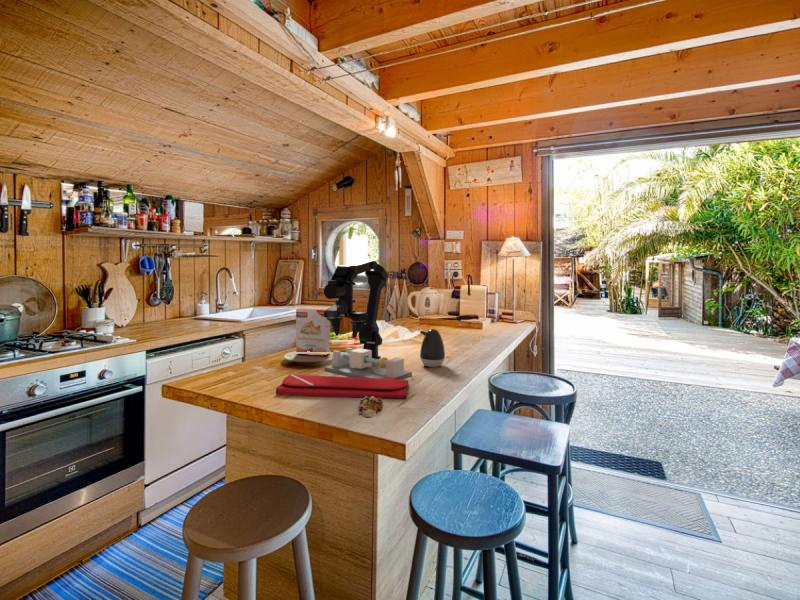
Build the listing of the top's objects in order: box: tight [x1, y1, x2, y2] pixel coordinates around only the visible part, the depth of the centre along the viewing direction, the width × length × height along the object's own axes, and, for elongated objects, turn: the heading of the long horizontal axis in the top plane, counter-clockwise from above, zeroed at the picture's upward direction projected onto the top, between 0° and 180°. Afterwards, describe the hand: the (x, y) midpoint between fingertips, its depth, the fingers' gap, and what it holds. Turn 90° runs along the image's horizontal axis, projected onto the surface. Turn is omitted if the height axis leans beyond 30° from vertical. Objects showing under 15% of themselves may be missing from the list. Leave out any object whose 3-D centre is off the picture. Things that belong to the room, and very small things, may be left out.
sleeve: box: [350, 348, 373, 369], centre depth 160 cm, size 6×6×6 cm
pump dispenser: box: [419, 328, 446, 368], centre depth 169 cm, size 10×10×15 cm
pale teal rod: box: [340, 351, 389, 369], centre depth 158 cm, size 4×29×4 cm, turn 53°
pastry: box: [358, 396, 383, 418], centre depth 118 cm, size 7×12×4 cm, turn 3°
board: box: [324, 347, 413, 380], centre depth 158 cm, size 16×30×7 cm, turn 53°
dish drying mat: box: [275, 373, 409, 399], centre depth 136 cm, size 16×41×4 cm, turn 87°
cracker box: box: [295, 307, 331, 353], centre depth 186 cm, size 14×6×21 cm, turn 81°
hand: (345, 336), depth 163 cm, fingers open, 9 cm apart
